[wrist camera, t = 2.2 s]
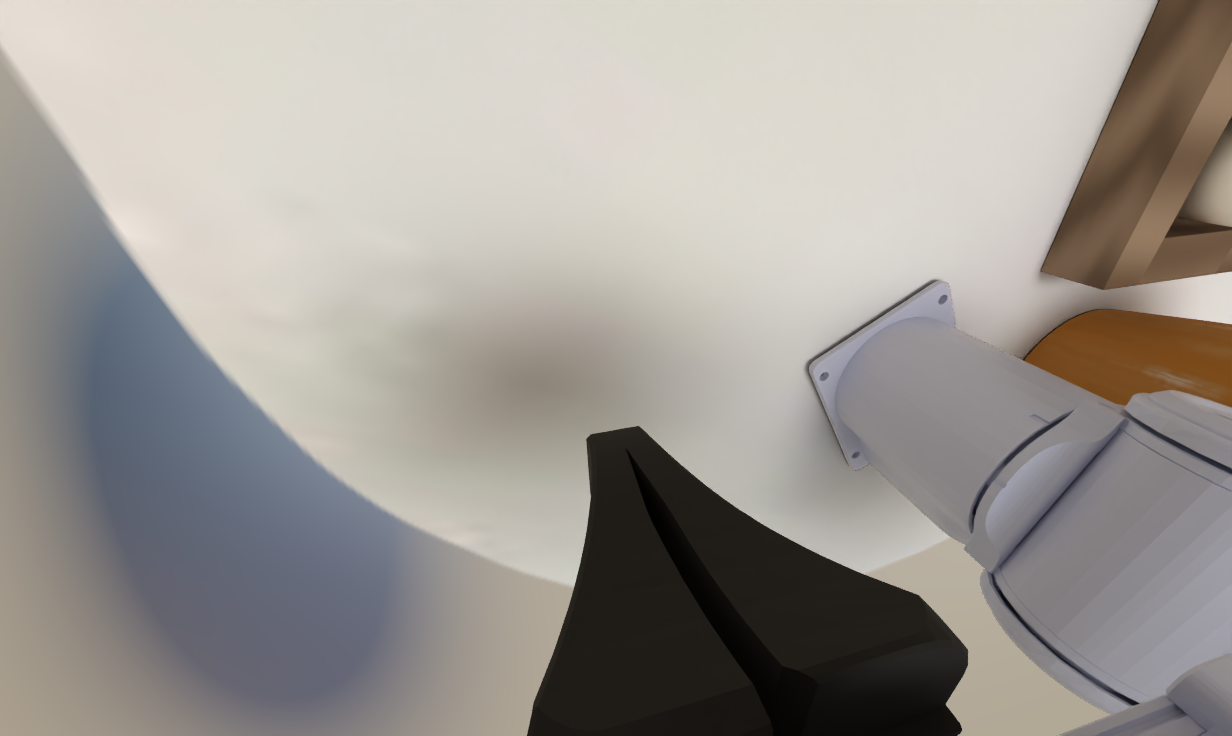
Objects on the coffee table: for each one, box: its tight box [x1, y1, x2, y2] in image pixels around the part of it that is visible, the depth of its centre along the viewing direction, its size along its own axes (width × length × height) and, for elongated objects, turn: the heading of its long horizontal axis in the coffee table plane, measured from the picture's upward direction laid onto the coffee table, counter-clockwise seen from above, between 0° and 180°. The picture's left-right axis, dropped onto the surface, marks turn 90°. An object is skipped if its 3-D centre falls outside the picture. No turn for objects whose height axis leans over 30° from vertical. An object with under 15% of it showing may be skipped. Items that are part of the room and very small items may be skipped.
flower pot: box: [1024, 309, 1232, 407], centre depth 25 cm, size 14×14×13 cm
